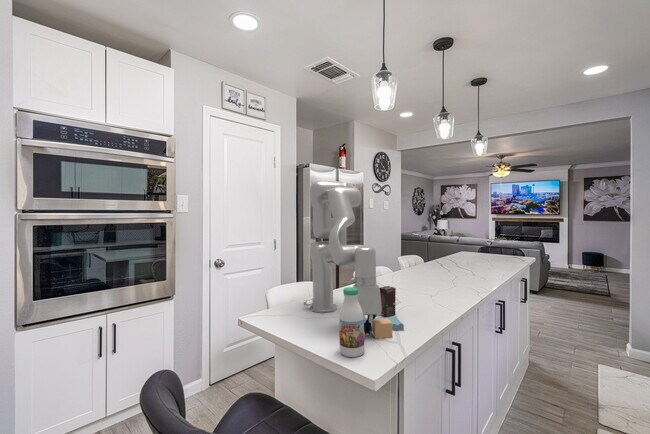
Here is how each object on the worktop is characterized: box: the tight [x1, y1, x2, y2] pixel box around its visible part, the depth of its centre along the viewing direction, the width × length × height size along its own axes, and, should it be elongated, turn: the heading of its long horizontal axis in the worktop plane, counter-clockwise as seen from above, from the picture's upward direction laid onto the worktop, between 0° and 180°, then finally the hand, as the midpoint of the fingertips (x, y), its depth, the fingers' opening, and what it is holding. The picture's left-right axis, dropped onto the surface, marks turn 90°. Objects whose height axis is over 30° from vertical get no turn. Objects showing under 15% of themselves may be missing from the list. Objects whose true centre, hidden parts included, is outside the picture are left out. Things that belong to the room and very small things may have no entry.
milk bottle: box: [338, 286, 365, 358], centre depth 92 cm, size 8×8×20 cm
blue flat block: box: [365, 316, 405, 333], centre depth 113 cm, size 14×9×2 cm, turn 94°
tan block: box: [371, 318, 393, 339], centre depth 105 cm, size 6×5×5 cm
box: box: [379, 285, 397, 318], centre depth 126 cm, size 6×4×12 cm
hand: (366, 332), depth 104 cm, fingers closed
